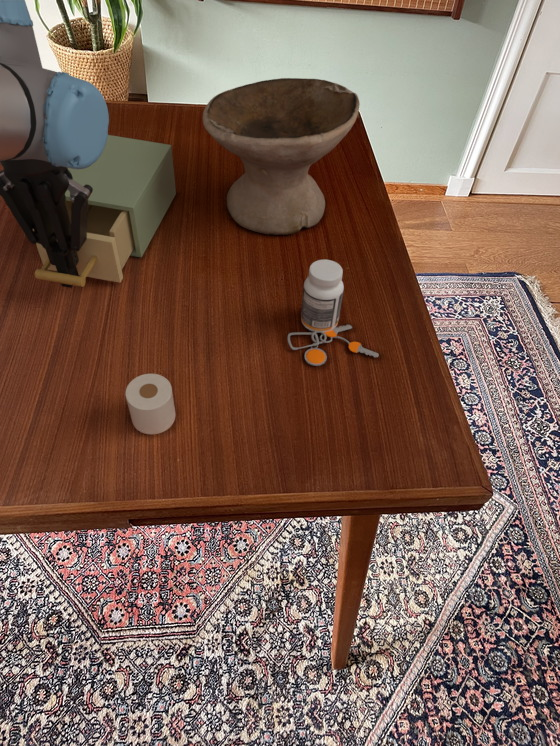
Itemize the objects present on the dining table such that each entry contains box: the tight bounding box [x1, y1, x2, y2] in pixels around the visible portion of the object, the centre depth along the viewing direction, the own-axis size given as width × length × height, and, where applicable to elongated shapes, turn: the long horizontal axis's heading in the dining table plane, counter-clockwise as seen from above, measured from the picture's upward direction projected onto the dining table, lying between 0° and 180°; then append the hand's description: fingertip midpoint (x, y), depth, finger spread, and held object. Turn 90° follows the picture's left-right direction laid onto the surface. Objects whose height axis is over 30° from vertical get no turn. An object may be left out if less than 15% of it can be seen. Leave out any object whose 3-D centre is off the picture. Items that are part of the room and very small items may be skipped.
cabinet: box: [65, 134, 177, 258], centre depth 97 cm, size 19×14×10 cm
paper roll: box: [124, 373, 177, 435], centre depth 73 cm, size 6×6×6 cm
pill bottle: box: [300, 259, 345, 334], centre depth 83 cm, size 6×6×10 cm
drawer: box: [32, 200, 135, 288], centre depth 90 cm, size 24×12×8 cm, turn 169°
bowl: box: [202, 77, 361, 236], centre depth 97 cm, size 26×25×20 cm
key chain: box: [287, 324, 380, 367], centre depth 84 cm, size 13×7×1 cm, turn 99°
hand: (70, 281), depth 86 cm, fingers closed
